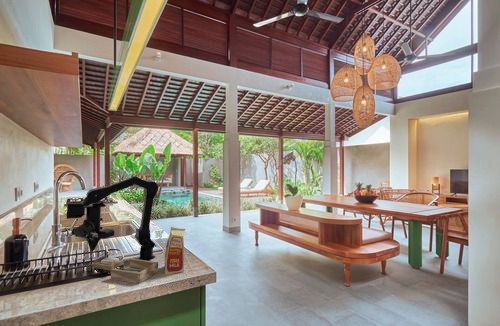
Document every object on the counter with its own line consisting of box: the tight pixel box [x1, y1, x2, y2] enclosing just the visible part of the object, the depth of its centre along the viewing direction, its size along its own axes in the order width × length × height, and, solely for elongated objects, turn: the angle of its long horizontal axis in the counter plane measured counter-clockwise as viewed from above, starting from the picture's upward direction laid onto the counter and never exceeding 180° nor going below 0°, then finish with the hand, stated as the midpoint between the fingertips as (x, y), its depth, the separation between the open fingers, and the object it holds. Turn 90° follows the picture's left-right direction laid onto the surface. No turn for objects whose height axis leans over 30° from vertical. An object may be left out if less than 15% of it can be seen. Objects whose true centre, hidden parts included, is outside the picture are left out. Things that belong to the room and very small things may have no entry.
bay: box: [110, 258, 159, 284], centre depth 115 cm, size 13×14×4 cm
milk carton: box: [164, 226, 186, 275], centre depth 123 cm, size 9×9×20 cm
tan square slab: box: [91, 255, 125, 274], centre depth 118 cm, size 8×10×5 cm
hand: (92, 250), depth 120 cm, fingers closed
